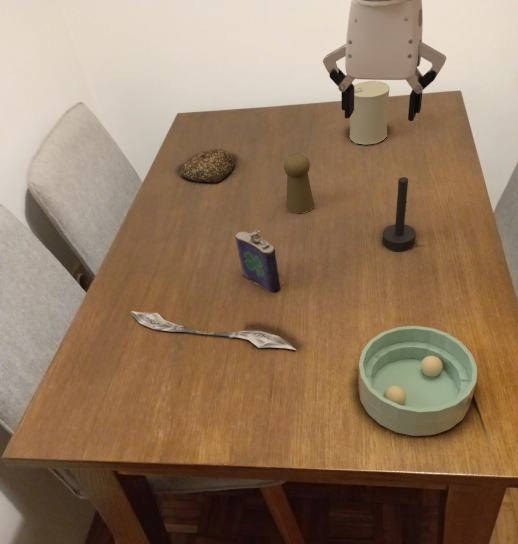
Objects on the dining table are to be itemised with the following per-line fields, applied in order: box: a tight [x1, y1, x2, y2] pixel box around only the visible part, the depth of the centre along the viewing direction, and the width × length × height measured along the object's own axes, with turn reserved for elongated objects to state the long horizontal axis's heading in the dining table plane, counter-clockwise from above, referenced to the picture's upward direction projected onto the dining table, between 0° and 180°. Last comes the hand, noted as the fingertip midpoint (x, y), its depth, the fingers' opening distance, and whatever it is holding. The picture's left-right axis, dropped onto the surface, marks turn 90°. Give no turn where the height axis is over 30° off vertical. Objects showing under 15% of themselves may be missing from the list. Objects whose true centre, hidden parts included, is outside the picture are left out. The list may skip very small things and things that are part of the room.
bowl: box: [357, 325, 478, 437], centre depth 73 cm, size 15×15×6 cm
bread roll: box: [180, 148, 236, 184], centre depth 126 cm, size 13×12×5 cm
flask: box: [235, 229, 282, 294], centre depth 93 cm, size 9×3×11 cm, turn 43°
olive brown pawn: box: [283, 153, 315, 214], centre depth 108 cm, size 6×6×11 cm
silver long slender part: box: [130, 310, 297, 351], centre depth 89 cm, size 32×1×5 cm
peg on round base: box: [381, 176, 417, 252], centre depth 95 cm, size 6×6×13 cm
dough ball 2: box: [421, 356, 443, 377], centre depth 75 cm, size 3×3×3 cm
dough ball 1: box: [384, 386, 406, 405], centre depth 72 cm, size 3×3×3 cm
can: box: [348, 80, 390, 144], centre depth 125 cm, size 9×9×12 cm
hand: (380, 115), depth 81 cm, fingers open, 9 cm apart
